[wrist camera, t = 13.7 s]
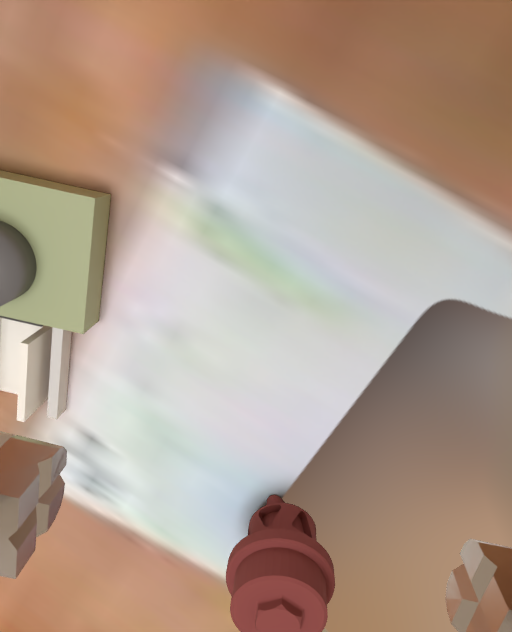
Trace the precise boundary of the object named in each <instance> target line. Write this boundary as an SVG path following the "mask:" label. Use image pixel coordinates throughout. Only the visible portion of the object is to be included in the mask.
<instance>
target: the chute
mask: <svg viewBox="0 0 512 632" xmlns="http://www.w3.org/2000/svg"><path fill="white" fill-rule="evenodd" d="M52 328H53V327H49V326H45V325H43V326H42V327H40V326H36V325H31V324H27V323H22V322H18V321H13V320H9V319H4V318H0V390H1V391H6V392H10V393H14V394H18V407H17V420H18V421H22V422H25V421H26V420H27V419H28V418H29V417H30V416H31V415H32V414H33V413H34V412H35V411H36V410H37V409H38V408H39V407H40V406H41V405H42V404H43V403H44V402H45V401H46V400H47V399H48V391H49V376H50V360H51V344H52Z"/></svg>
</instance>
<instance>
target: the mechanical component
mask: <svg viewBox="0 0 512 632" xmlns="http://www.w3.org/2000/svg"><path fill="white" fill-rule="evenodd" d="M226 583H227V587H228V590H229V592H230V594H231V596H232V598H231V606H230V611H231V617H232V620H233V622H234V624H235V625H236V627H237V628H238V629H239V630H240V631H241V632H322V630H323V629H324V627H325V625H326V622H327V604H328V603H329V601H330V599H331V598H332V595H333V592H334V588H335V578H334V569H333V563H332V560H331V558H330V556H329V554H328V553H327V551H326V550H325V549H324V548H323V547H322V546H321V545H320V544H319V543H318V542H317V541H316V527H315V524H314V521H313V519H312V518H311V516H310V515H309V514H308V513H307V512H306V511H304V510H303V509H301V508H299V507H297V506H295V505H292V504H288V503H285V502H284V501H283V500H282V499H281V497H279V496H277V495H271V496H269V497H268V499H267V505H266V506H264V507H262V508H260V509H259V510H258V511H256V512H255V513H254V515H253V516H252V518H251V520H250V523H249V529H248V536H247V537H245V538H243V539H242V540H241V541H240V542H239V543H238V544H237V545H236V546H235V547H234V548H233V550H232V552H231V554H230V557H229V560H228V565H227V571H226Z"/></svg>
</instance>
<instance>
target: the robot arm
mask: <svg viewBox="0 0 512 632" xmlns="http://www.w3.org/2000/svg"><path fill="white" fill-rule="evenodd" d="M66 457H67V450H66V449H65V448H64V447H62V446H58V445H54V444H50V443H46V442H42V441H38V440H34V439H30V438H26V437H22V436H18V435H16V436H15V435H13V434H9V433H5V432H1V431H0V576H3V577H8V578H13V579H16V578H17V576H18V575H19V573H20V572H21V570H22V569H23V567H24V566H25V564H26V563H27V561H28V560H29V558H30V557H31V555H32V554H33V552H34V551H35V545H36V537H38V536H40V535H41V534H43V533H45V532H47V531H48V530H49V528H50V526H51V525H52V523H53V522H54V520H55V518H56V515H57V513H58V511H59V508H60V506H61V502H62V498H63V494H64V485H65V483H64V481H63V479H62V478H61V476H60V475H59V474H60V472H61V471H62V470H63V468H64V467H65V466H66ZM460 555H461V557H462V560H463V562H464V564H463V565H461V566H459V567H457V568H456V569H454V570H453V571H452V573H451V575H450V578H449V580H448V583H447V590H446V605H447V612H448V615H449V618H450V621H451V624H452V625H453V626H454V627H455V628H456V629H457V631H458V632H512V548H511V547H506V546H501V545H497V544H492V543H488V542H483V541H479V540H474V539H469V540H468V541H467V542H466V543H465V544H464V546H463V548H462V550H461V553H460Z"/></svg>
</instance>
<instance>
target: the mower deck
mask: <svg viewBox="0 0 512 632" xmlns="http://www.w3.org/2000/svg"><path fill="white" fill-rule="evenodd" d="M110 201H111V194H107V193H102V192H98V191H93V190H89V189H84V188H80V187H75V186H70V185H66V184H61V183H57V182H52V181H48V180H43V179H39V178H34V177H29V176H25V175H20V174H16V173H11V172H7V171H2V170H0V318H4V319H9V320H13V321H18V322H22V323H27V324H31V325H36V326H40V327H42V326H43V325H45V326H49V327H53V328H52V344H51V360H50V376H49V391H48V407H47V417H48V418H52V419H58V417H59V416H60V415H61V414H62V413H63V412H64V411H65V410H66V402H67V389H68V376H69V363H70V350H71V338H72V332H76V333H81V334H84V333H85V332H86V331H87V330H89V329H90V328H91V327H92V326H93V325H94V324H96V323H97V322H98V321H99V313H100V303H101V292H102V282H103V272H104V262H105V252H106V241H107V231H108V221H109V211H110Z"/></svg>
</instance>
